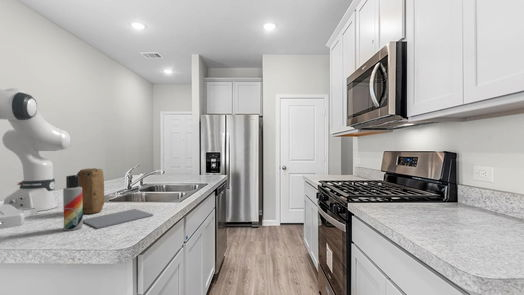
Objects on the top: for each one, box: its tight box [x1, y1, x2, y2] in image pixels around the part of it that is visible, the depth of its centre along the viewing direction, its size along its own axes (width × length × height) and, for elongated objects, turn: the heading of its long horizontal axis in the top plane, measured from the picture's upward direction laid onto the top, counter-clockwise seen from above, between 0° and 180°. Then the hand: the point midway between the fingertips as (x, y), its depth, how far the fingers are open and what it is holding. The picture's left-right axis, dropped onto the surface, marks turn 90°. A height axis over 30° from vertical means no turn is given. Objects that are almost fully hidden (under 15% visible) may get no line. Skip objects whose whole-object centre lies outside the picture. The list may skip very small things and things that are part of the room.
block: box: [76, 168, 105, 215], centre depth 118 cm, size 11×8×20 cm
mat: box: [83, 208, 154, 230], centre depth 108 cm, size 22×16×1 cm
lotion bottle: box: [62, 174, 84, 232], centre depth 95 cm, size 6×6×20 cm
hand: (36, 210), depth 87 cm, fingers closed
